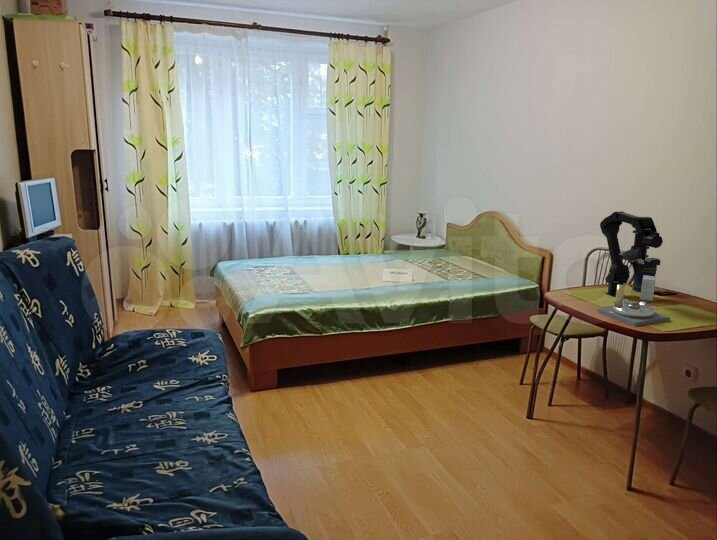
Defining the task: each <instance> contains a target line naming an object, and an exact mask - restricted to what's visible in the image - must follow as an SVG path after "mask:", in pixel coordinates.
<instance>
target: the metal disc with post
mask: <svg viewBox="0 0 717 540" xmlns="http://www.w3.org/2000/svg"><path fill="white" fill-rule="evenodd" d="M625 288H626V284H623V285H622V284H618V285H617V291H616V297H615V301H613V306H612V307H613V311H614V312H615V313H617V314H619V315H622V316H626V317H632V318H651V317H653V316H654V312H656V311H655V310H656V306H655V305H650V306H649V305H647V303H648V302H647V301H645V300H640V301H639V302H638V303H637V302H631V301H629V299H627V298H624V296H625Z"/></svg>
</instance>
